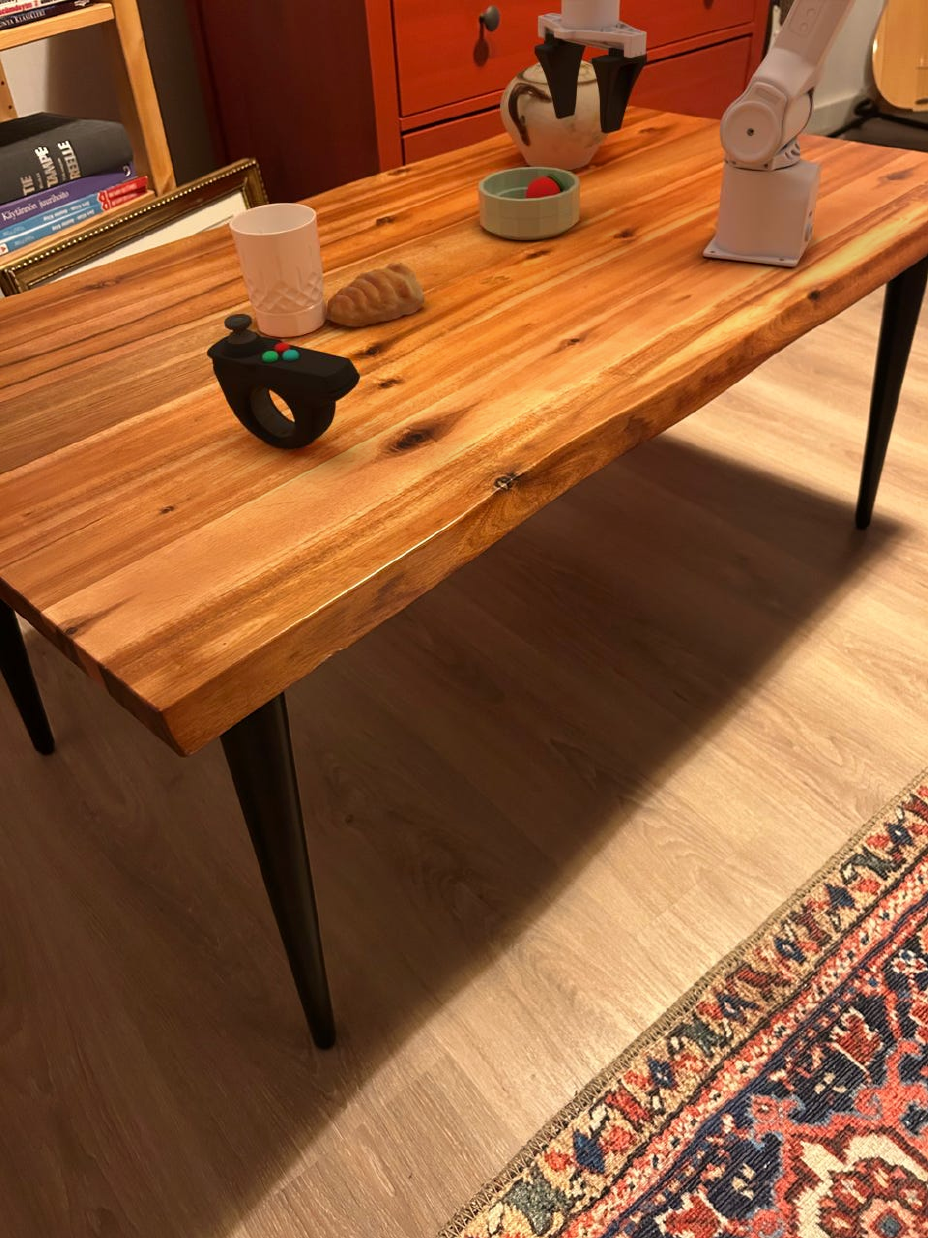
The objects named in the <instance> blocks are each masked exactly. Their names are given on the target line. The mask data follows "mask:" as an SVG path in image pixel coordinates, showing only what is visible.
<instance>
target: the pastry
mask: <svg viewBox="0 0 928 1238" xmlns="http://www.w3.org/2000/svg"><path fill="white" fill-rule="evenodd" d="M424 302H425V294H424V292H423V289H422V287H421V284H420V283H419V281H418V280H417V278H416V276H415V272H414V271H413V270H412V269H411V268H410V267H409V266H408V265H406V264H405V263H403V262H398V263H393V262H390V263H388V264H387V266H386V267H384V268H376V269H375V268H374V269H372V270H370V271H366V272H362V273H360V274H358V275H357V276H356V277H355V278H354V279H353V281H352V282H351V283H349V284H348V285H347V286H343V287H341V288H340V289H339V290H338V291H337V292H336V293H335V294H333V296H332V297H331V298H329V299H328V300H327V306H326V314H327V318H326V319H327V320H329V321H331V322H333V323H336V324H339V325H341V326H345V327H353V328H354V329H355V328H356V327H360V328H362V327H365V326H367V325H378V324H379V323H384V322H386V321H387V322H389V321H393V320H396V319H398V318H399V319H400V318H401V317H402V316H403V315H407V316H408V315H412V314H414V313H416V312H417V311H419V310H420V309H421V308H422V305H423V303H424Z"/></svg>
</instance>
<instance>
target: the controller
mask: <svg viewBox="0 0 928 1238" xmlns="http://www.w3.org/2000/svg"><path fill="white" fill-rule="evenodd" d="M223 323H224V327H225V329H228V330H229V331H231V332H230V333H229V334H228V335H226V336H225V337H222V338H221V339H219V340H217V341H216V342H215V343H214V344H212V345H211V346H210V347H209V348H208V349H207V351H206V356H207V357H209V358H210V359H211V361H212V371H213V373H214V376H215V377H216V380H217V382H218V384H219V387H220V389H221V391H222V393H223V396H224V398H225V400H226V402H227V405H228V406H229V408H230V409H231V411H232V414H233V415H234V416H235V417H236V419H237V420H238V421H239V422H240V424H241V425H242V426H243V427H244V428H245V429H246V430H247V431H248V432H249V433H250V434H252V435H253V436H254V437H255V438H256V439H258V440H260V441H261V442H262V443H264V444H266V445H269V446H271V447H273V448H276V449H281V450H287V451H288V450H289V451H291V450H293V451H294V450H299V449H300V450H301V449H302V448H306V447H308V446H310V445H312V444H314V442H316V440H318V439H320V437H322V436H323V435H324V434H325V433H326V432H327V431H328V429H329V428H330V427H331V425H332V423H333V421H334V419H335V415H336V409H337V402H339V401H340V400H341V399H343V398H344V397H346V396H347V395H348V394H349V393H351V392H352V391H353V390H354V389H355V388H356V386H357V385H358V384H359V382H360V381H361V374H360V373H359V372H358V369H357V368H356V367H355V365H354V363H353V362H352V360H351V359H350V358H349V357H345V356H341V355H337V354H333V353H328V352H323V351H319V350H315V349H310V348H307V347H302V346H298V345H293V344H289V343H287V342H284V341H282V339H278V338H274V337H268V336H262V335H260V334H259V333H258V332H255V331H254V330H252V329H249V328H250V327H251V325H252V324H253V318H252V316H251V315H249V314H247V313H235V314H232V315H229V316H227V317H226V318H225V319H224V321H223ZM271 392H273V394H275V395H276V396H278V397H279V398H280V399H281V400H282V401H283V402H284V403H285V405H286V406H287V407H288V408H289V410H290V412H291V414H292V418H293V420H292V419H290V418H289V417H287V416H286V415H285V414H284V413H282V411H281V410H279V408H278V407H277V405H276V404H275V402H274V400H273V398H272V397H271Z"/></svg>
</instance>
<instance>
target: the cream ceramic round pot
mask: <svg viewBox="0 0 928 1238" xmlns="http://www.w3.org/2000/svg"><path fill="white" fill-rule="evenodd" d="M500 99H501V100H500V104H499V110H500V118H501V121H502V124H503V126H504V129H505V131H506V132H507V134H508V136H509V137H510V138H511V140H512V142H513V143H514V144H515V146H516V148H517V149H518V150H519V152H520V154H521V155H522V157H523V159H524V160H525V162H526V164H527V165H528V167H548V168H558V169H561V170H565V171H573V170H577V169H580V168H583V167H585V166H587V165H588V164H589V163H590V162H591V160H592V158H593V157H594V155H595V154H596V153H597V152H598V150H599V149H600V147H601V146H602V145H603V143H604V142H605V140H606V139H607V138H608V136H609V134H610V133H603V132H602V130H601V125H600V98H599V89H598V84H597V79H596V75H595V71H594V68H593V65H592V59H589V60H588V61H584V60H583V59H582V60H581V65H580V70H579V76H578V85H577V100H576V108H575V113H574V115H573V116H569V117H566V118H562V119H558V118H556V116H555V112H554V107H553V103H552V98H551V94H550V90H549V86H548V82H547V79H546V76H545V74H544V71H543V69H542V66H541V64H540V62H539V61H538V62H536V63H534V64H533V65H530V66H529V67H526V68H524V69H522V70H520V71H519V70H518V72H517V73H516V74H515V77H514V78H513V79H512V80H511V81H510V82H509V83H508V84H507V86H506V87H505V89H504V91H503V93H502V96H501V98H500Z"/></svg>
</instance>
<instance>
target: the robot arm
mask: <svg viewBox="0 0 928 1238" xmlns="http://www.w3.org/2000/svg"><path fill="white" fill-rule="evenodd" d="M856 2H857V0H793V1H792V5H791V7H790V8H789V11H788V13H787V15H786V17H785V19H784V21H783V23H782V26H781V27H780V30H779V32H778V34H777V35H776V38H775V41H774V43H773V45H772V46H771V48H770V49H769V51H768V52H767V54H766V55H765V57H764V58H763V60H762V61H761V63H760V64H759V66H758V67H757V69H756V70H755V72H754V73H753V74H752V77H751V79H750V81H749V83H748V85H747V87H746V89H745V90H744V92H742V93H741V95H740V96H739V97H737V98H736V99H735V100H734V101H733V102H731V103H730V104H729V106H727V108H726V110H725V111H724V113H723V115H722V118H721V121H720V124H719V140H720V141H719V142H720V144H721V147H722V149H723V151H724V158H723V159H724V160H723V167H722V168H723V169H722V177H721V185H720V193H719V194H720V195H719V203H718V212H717V213H718V214H717V222H716V230H715V234H714V236H713V237H712V239H711V240H710V242H708V244H707V246H706V247H705V249H704V250H703V252H702V256H703V257H706V258H713V259H722V260H730V261H739V262H747V263H756V264H764V265H774V266H782V267H791V268H794V267H796V266H797V265H798V264H799V262H800V260H801V258H802V257H803V254H804V253H805V251H806V248H807V247H808V246H809V244H810V242H811V239H812V234H813V230H814V229H813V228H814V218H815V213H816V207H817V202H818V196H819V195H818V194H819V192H820V191H819V189H820V185H821V179H822V177H821V176H822V164H821V163H820V162H816V161H810V160H807V159H803V158H802V156H801V155H802V150H801V146H800V145H801V144H800V142H799V136H800V135H801V133H803V132H804V131H805V129H806V128H807V127H808V125H809V123H810V122H811V120H812V117H813V114H814V110H815V96H816V91H817V88H818V86H819V83H820V81H821V80H822V78H823V76H824V72H825V65H826V64H825V63H826V60H827V58H828V56H829V55H830V54H829V53H830V52H831V50H832V48H833V46H834V45H835V42H836V41H837V39H838V37H839V35H840V33H841V30H842V28H843V27H844V25H845V23H846V21H847V19H848V17H849V16H850V13H851V11H852V10H853V7H854V6H855V4H856ZM620 4H621V0H561V10H560V11H561V13H554V12H551V13H546V14H543V15H538V16H537V37H538V38H541V39H544V40H543V43H540V44H536V45H535V46H534V48H533V49H534V55H535V57H536V58H537V61H538V62H540V64H541V66H542V69H543V71H544V74H545V76H546V79H547V82H548V86H549V90H550V94H551V98H552V103H553V107H554V112H555V116H556V118H558V119H562V118H566V117H569V116H573V115H574V113H575V108H576V100H577V85H578V76H579V70H580V65H581V60H582V61H583V57H584V52H585V50H586V46H587V47H590V48H595V49H599V50H604V51H607V52H608V54H603V55H599V56H594V57H591V60H592V65H593V68H594V71H595V75H596V79H597V84H598V89H599V98H600V125H601V130H602V132H603V133H609V134H610V133H614V132H618V131H621V128H622V125H623V122H624V118H625V114H626V110H627V107H628V105H629V100H630V97H631V95H632V92H633V89H634V87H635V85H636V83H637V80H638V78H639V76H640V74H641V72H642V71H643V69H644V67H645V66H646V65H647V63H648V53H646V51H647V50H646V49H647V31H644V30H640V29H637V28H635V27H633V26H631V25H629V24H627V23H625V22H623V21H621V20H620Z"/></svg>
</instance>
